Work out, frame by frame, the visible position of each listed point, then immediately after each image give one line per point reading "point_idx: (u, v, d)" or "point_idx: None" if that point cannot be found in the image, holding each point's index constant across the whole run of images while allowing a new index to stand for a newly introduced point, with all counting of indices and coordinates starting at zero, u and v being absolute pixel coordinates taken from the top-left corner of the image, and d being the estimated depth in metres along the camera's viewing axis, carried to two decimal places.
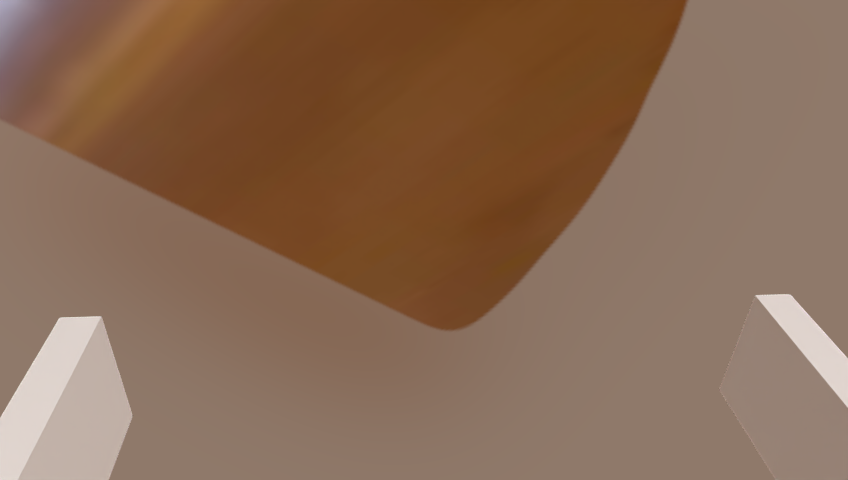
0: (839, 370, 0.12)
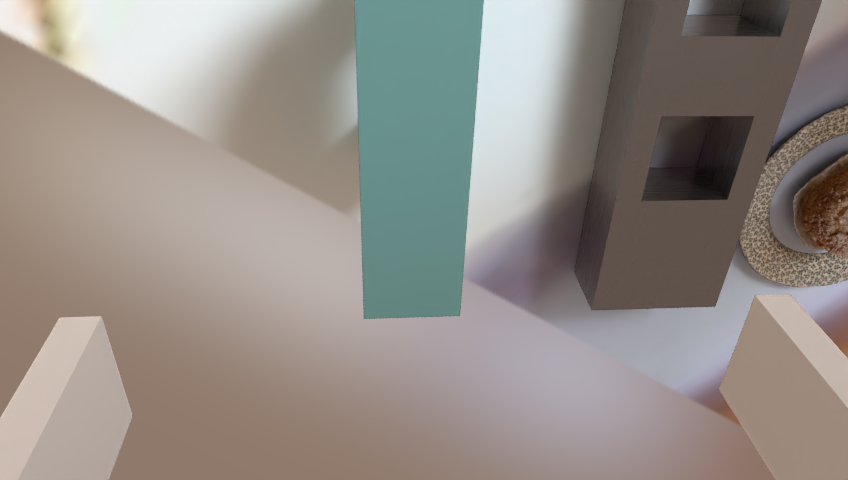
0: (839, 370, 0.12)
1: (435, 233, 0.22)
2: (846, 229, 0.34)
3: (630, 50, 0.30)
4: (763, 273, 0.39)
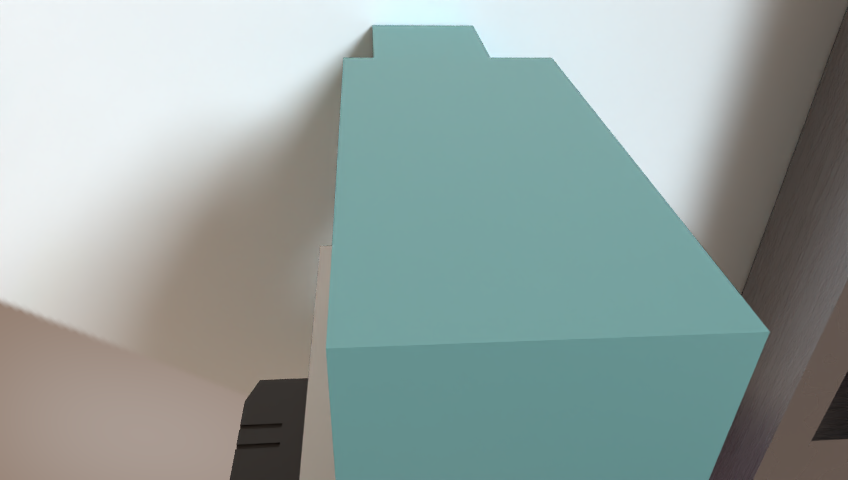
0: None
1: None
2: None
3: (813, 216, 0.18)
4: None
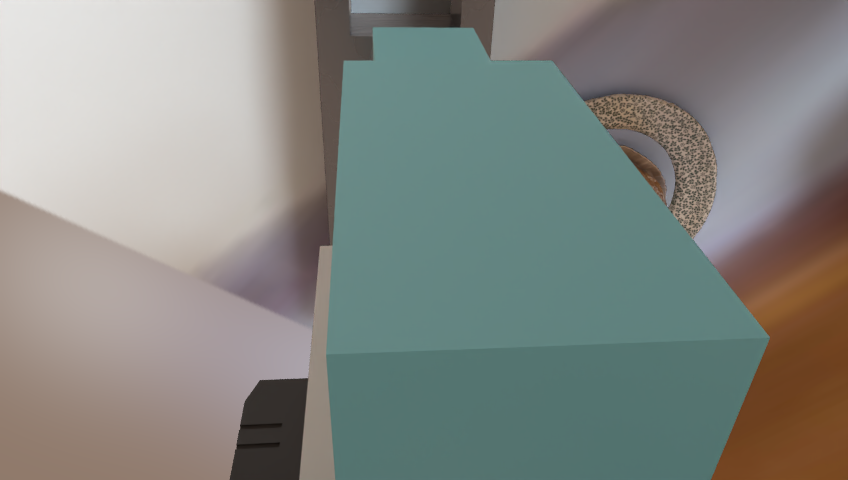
0: None
1: None
2: None
3: None
4: None
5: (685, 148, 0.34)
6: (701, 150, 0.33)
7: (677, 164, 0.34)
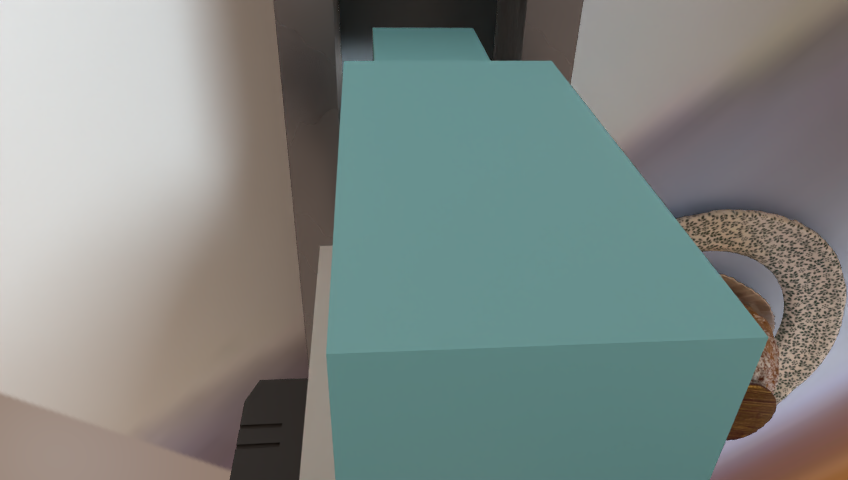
0: None
1: None
2: None
3: None
4: None
5: (805, 275, 0.24)
6: (827, 278, 0.24)
7: (791, 293, 0.25)
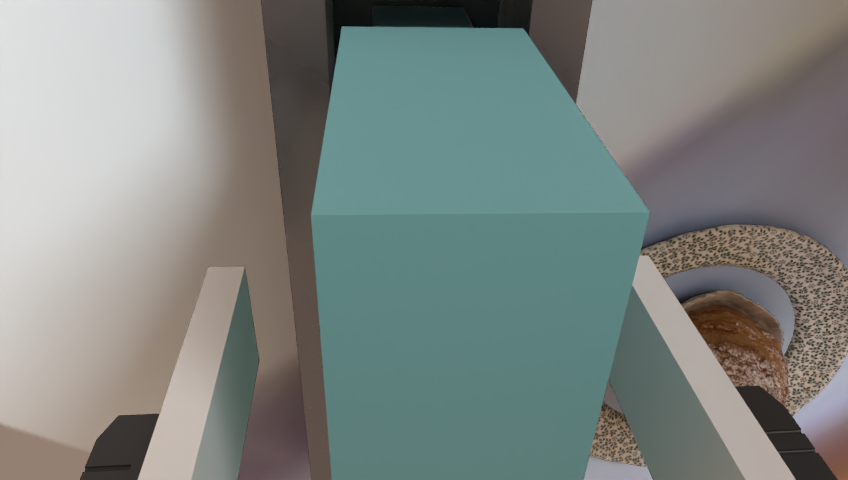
0: (673, 319, 0.13)
1: None
2: None
3: None
4: (590, 452, 0.27)
5: (815, 290, 0.23)
6: (838, 293, 0.23)
7: (800, 308, 0.24)
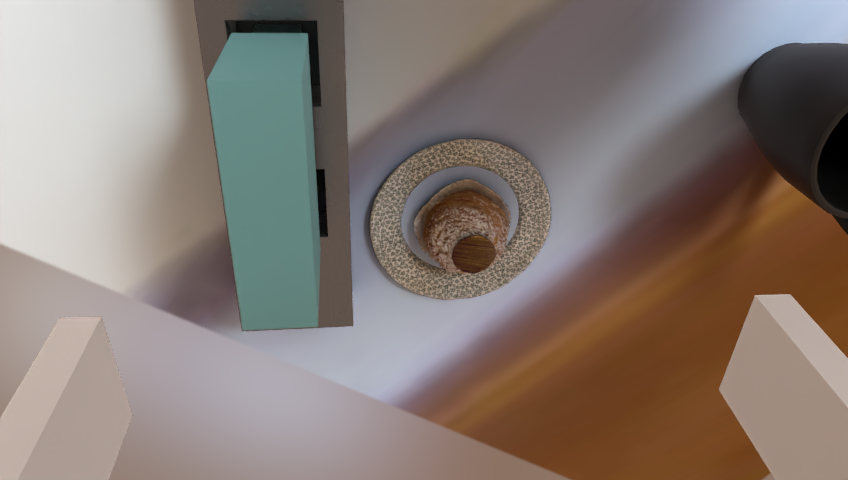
0: (839, 370, 0.12)
1: (290, 265, 0.29)
2: (443, 249, 0.40)
3: None
4: (409, 288, 0.44)
5: (522, 180, 0.42)
6: (534, 182, 0.42)
7: (517, 192, 0.42)
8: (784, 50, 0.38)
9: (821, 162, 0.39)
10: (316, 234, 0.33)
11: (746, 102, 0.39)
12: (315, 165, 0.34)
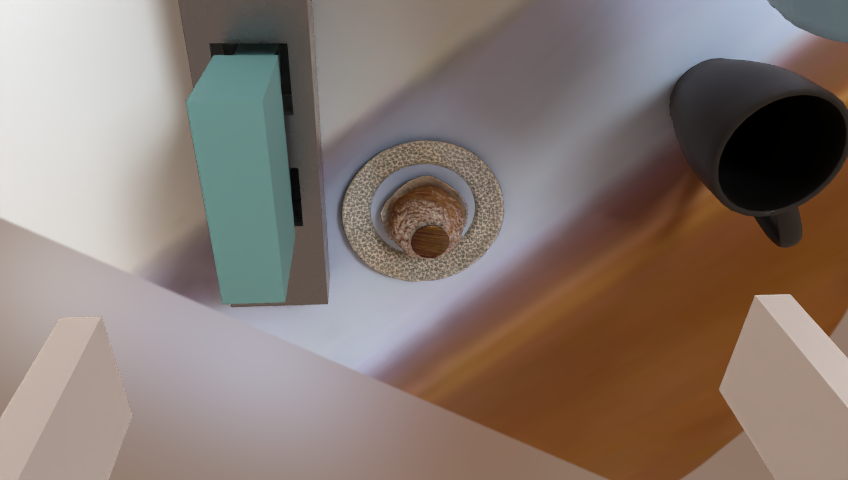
0: (839, 370, 0.12)
1: (260, 250, 0.35)
2: (404, 237, 0.46)
3: None
4: (379, 270, 0.50)
5: (476, 177, 0.47)
6: (487, 178, 0.47)
7: (473, 187, 0.48)
8: (706, 65, 0.43)
9: (739, 165, 0.44)
10: (286, 224, 0.39)
11: (673, 111, 0.44)
12: (288, 165, 0.40)
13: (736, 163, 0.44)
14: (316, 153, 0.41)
